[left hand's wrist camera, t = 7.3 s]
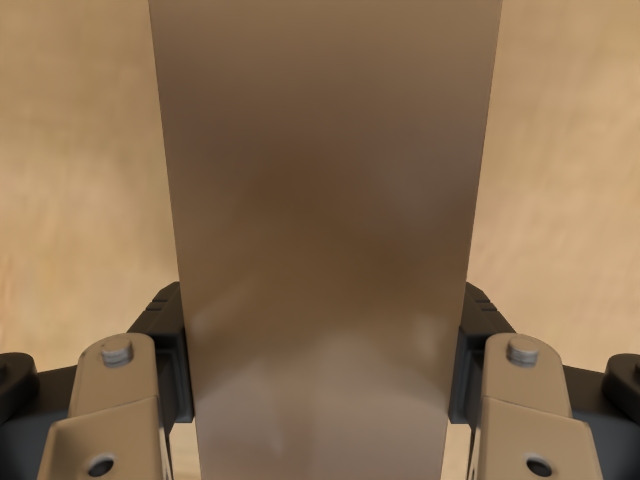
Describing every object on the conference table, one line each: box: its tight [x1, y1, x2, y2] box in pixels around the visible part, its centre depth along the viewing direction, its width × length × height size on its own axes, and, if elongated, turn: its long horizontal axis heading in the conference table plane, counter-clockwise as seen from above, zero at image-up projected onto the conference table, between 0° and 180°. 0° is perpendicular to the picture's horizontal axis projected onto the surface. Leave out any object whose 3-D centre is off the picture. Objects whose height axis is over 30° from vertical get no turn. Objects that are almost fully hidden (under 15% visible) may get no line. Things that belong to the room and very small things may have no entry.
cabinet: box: [148, 0, 502, 480], centre depth 11 cm, size 19×6×9 cm, turn 0°
